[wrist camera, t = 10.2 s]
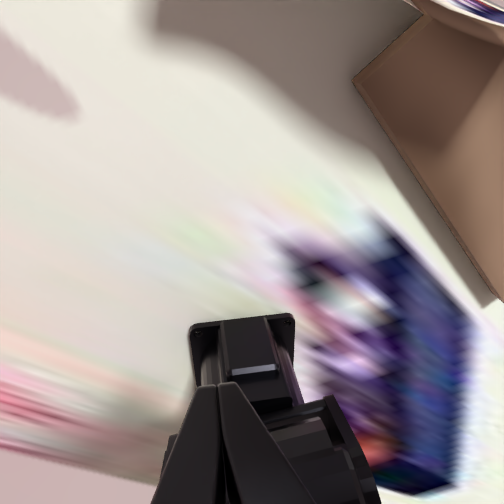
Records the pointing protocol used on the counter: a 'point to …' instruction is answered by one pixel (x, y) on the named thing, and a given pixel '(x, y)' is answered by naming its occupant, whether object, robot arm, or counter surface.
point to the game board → (448, 130)
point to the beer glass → (468, 16)
